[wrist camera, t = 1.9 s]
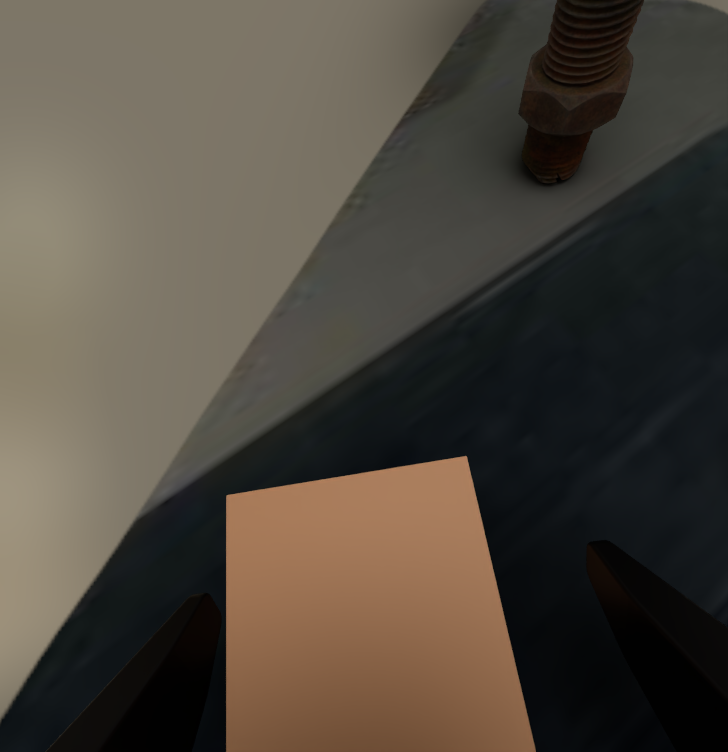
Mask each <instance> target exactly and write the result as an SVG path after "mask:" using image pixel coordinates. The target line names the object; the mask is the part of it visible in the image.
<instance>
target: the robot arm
mask: <svg viewBox="0 0 728 752" xmlns="http://www.w3.org/2000/svg"><path fill="white" fill-rule="evenodd" d="M587 573H588V576H589V579H590V581H591V583H592V586H593V588H594V590H595V592H596V595H597V597H598V599H599V601H600V604H601V606H602V608H603V611H604V613H605V615H606V617H607V620H608V622H609V624H610V626H611V629H612V631H613V633H614V635H615V638H616V640H617V642H618V644H619V647H620V649H621V651H622V653H623V655H624V657H625V659H626V661H627V663H628V665H629V667H630V669H631V670H632V672H633V674H634V676H635V678H636V679H637V681H638V683H639V685H640V687H641V688H642V690H643V692H644V694H645V696H646V697H647V699H648V701H649V703H650V705H651V706H652V708H653V710H654V712H655V714H656V715H657V717H658V719H659V721H660V723H661V724H662V726H663V728H664V730H665V732H666V733H667V735H668V737H669V739H670V740H671V742H672V744H673V746H674V748H675V749H676V751H677V752H728V627H726V626H725V625H724V624H722V623H721V622H719V621H718V620H717V619H715V618H714V617H713V616H711V615H710V614H708V613H707V612H706V611H704V610H703V609H702V608H700V607H699V606H698V605H696V604H695V603H693V602H692V601H691V600H689V599H688V598H687V597H685V596H684V595H683V594H681V593H680V592H678V591H677V590H676V589H674V588H673V587H672V586H670V585H669V584H668V583H666V582H665V581H663V580H662V579H661V578H659V577H658V576H657V575H655V574H654V573H652V572H651V571H650V570H648V569H647V568H646V567H644V566H643V565H642V564H640V563H639V562H637V561H636V560H635V559H633V558H632V557H631V556H629V555H628V554H627V553H625V552H624V551H622V550H621V549H620V548H618V547H617V546H616V545H614V544H613V543H611V542H610V541H607V540H601V541H593V542H589V543H588V544H587ZM220 628H221V613H220V611H219V609H218V607H217V606H216V604H215V602H214V601H213V599H212V597H211V596H210V594H208V593H199V594H194V595H191V596H190V597H189V598H188V599H187V600H186V601H185V602H184V603H183V604H182V605H181V606H180V607H179V608H178V609H177V610H176V611H175V613H174V614H173V615H172V616H171V617H170V618H169V619H168V620H167V621H166V622H165V623H164V624H163V625H162V627H161V628H160V629H159V630H158V631H157V632H156V633H155V634H154V635H153V636H152V637H151V638H150V640H149V641H148V642H147V643H146V644H145V645H144V646H143V647H142V648H141V649H140V650H139V651H138V652H137V654H136V655H135V656H134V657H133V658H132V659H131V660H130V661H129V662H128V663H127V664H126V665H125V667H124V668H123V669H122V670H121V671H120V672H119V673H118V674H117V675H116V676H115V677H114V678H113V679H112V681H111V682H110V683H109V684H108V685H107V686H106V687H105V688H104V689H103V690H102V691H101V692H100V694H99V695H98V696H97V697H96V698H95V699H94V700H93V701H92V702H91V703H90V704H89V705H88V706H87V708H86V709H85V710H84V711H83V712H82V713H81V714H80V715H79V716H78V717H77V718H76V719H75V721H74V722H73V723H72V724H71V725H70V726H69V727H68V728H67V729H66V730H65V731H64V732H63V734H62V735H61V736H60V737H59V738H58V739H57V740H56V741H55V742H54V743H53V744H52V745H51V746H50V748H49V749H48V750H47V751H46V752H192V749H193V745H194V741H195V738H196V734H197V731H198V727H199V724H200V720H201V717H202V713H203V709H204V706H205V702H206V698H207V694H208V689H209V685H210V680H211V675H212V669H213V664H214V659H215V654H216V648H217V643H218V638H219V633H220Z"/></svg>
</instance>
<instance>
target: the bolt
mask: <svg viewBox="0 0 728 752" xmlns="http://www.w3.org/2000/svg"><path fill="white" fill-rule="evenodd" d="M643 2H644V0H557V3H556V5H555V12H554V14H553V22H552V24H551V31H550V33H549V36H548V42H547V44H546V45H545V46H544V47H542V48H541V49H540V50H538V51H537V52H536V53H535V54H533V55H532V57H531V60H530V64H529V68H528V72H527V76H526V80H525V84H524V89H523V93H522V98H521V103H520V108H519V113H518V114H519V115H520V116H521V117H522V118H523V119H524V120H525V121H526V122H527V123H528V124H529V125H528V129H527V135H526V139H525V143H524V148H523V151H522V159H523V161H524V163H525V164H526V166H527V167H528V168H529V169H530V170H531V172H532V173H533V174H534V175H535V176H536V178H537V179H538V180H539V181H540V182H541V183H553V182H557V181H556V178H558V176H559V177H560V179H561V180H564V179H567V178H569V177H570V176H571V175H573V174H574V173H575V172H576V171H577V169H578V167H579V164H580V162H581V159H582V157H583V154H584V151H585V150H586V146H587V143H588V142H589V139H590V135H591V134H592V132H593V130H594V129H596V128H598V127H600V126H602V125H603V124H605V123H607V122H609V121H610V120H612V119H614V118H615V117H616V115H617V113H618V111H619V108H620V106H621V104H622V102H623V99H624V97H625V95H626V92H627V88H628V85H629V81H630V77H631V72H632V67H633V56H632V54H631V53H630V51H629V50H628V48H627V47H626V46H627V44H628V41H629V37H630V36H631V34H632V32H633V27H634V25H635V23H636V21H637V16H638V14H639V13H640V11H641V6H642V5H643ZM557 175H558V176H557Z"/></svg>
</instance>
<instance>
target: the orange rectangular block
mask: <svg viewBox="0 0 728 752" xmlns="http://www.w3.org/2000/svg"><path fill="white" fill-rule="evenodd" d="M226 752H536V750H535V745H534V741H533V737H532V733H531V728H530V724H529V720H528V715H527V711H526V707H525V703H524V698H523V694H522V690H521V686H520V681H519V677H518V673H517V669H516V664H515V660H514V656H513V652H512V647H511V643H510V639H509V635H508V630H507V626H506V622H505V618H504V613H503V609H502V605H501V601H500V596H499V592H498V588H497V583H496V579H495V575H494V571H493V566H492V562H491V558H490V554H489V549H488V545H487V541H486V537H485V532H484V528H483V524H482V520H481V515H480V511H479V507H478V503H477V498H476V494H475V490H474V486H473V481H472V477H471V473H470V469H469V464H468V460H467V456H464V457H458V458H452V459H445V460H439V461H433V462H427V463H421V464H415V465H409V466H403V467H397V468H391V469H384V470H378V471H372V472H366V473H360V474H354V475H348V476H342V477H336V478H330V479H323V480H317V481H311V482H305V483H299V484H293V485H287V486H281V487H275V488H269V489H262V490H256V491H250V492H244V493H238V494H232V495H227V521H226Z"/></svg>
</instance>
